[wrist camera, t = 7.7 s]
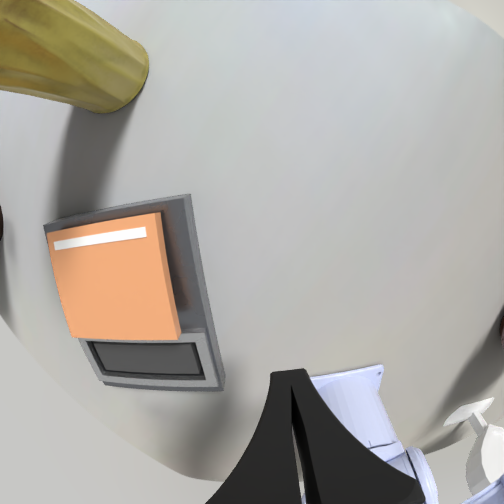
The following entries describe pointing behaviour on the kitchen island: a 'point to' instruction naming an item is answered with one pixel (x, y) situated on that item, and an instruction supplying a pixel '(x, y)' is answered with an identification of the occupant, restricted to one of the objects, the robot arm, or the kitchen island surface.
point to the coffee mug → (1, 223)
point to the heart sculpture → (481, 446)
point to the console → (184, 290)
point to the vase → (68, 55)
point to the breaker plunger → (150, 357)
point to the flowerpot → (502, 332)
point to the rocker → (115, 279)
